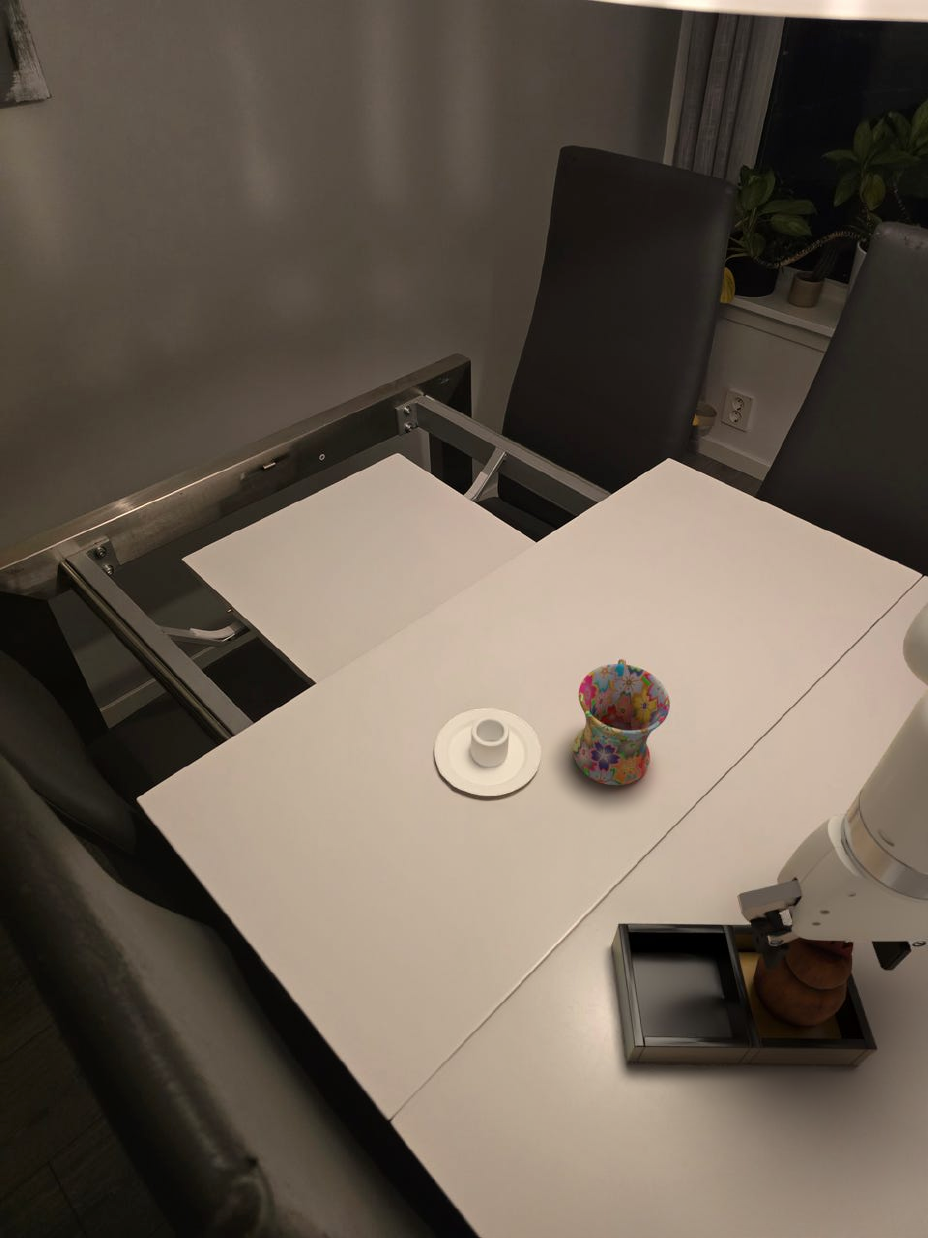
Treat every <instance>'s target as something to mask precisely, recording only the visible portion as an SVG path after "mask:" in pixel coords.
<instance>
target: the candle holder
mask: <svg viewBox="0 0 928 1238" xmlns="http://www.w3.org/2000/svg"><path fill="white" fill-rule="evenodd" d="M436 736H437V737H436V738H435V741H434V747H433V748H434V749H433V755H434V760H435V764H436V767H437V769H438V772H439V773H440V775H441V776H442V777H443V778H444V779H445V780H446V781H447V782H448V783H449V784H450V785H451V786H453V787H454V788H456V789H457V790H460V791H462V792H465V793H468V794H472V795H475V796H480V797H482V796H483V797H497V796H503V795H508V794H510V793H513V792H515V791H517V790H519V789H520V788H522V787H524V786H525V785H527V783H528V782H530V780H531V779H533V777H534V776H535V775H536V773H537V771H538V769H539V767H540V765H541V761H542V747H541V742H540V740H539V737H538V735H537V733H536V732H535V730H534V729H533V728H532V726H531V725H530V724H529V723H528V722H527V721H526V720H525V719H523V718H521V717H520V716H518V715H517V714H514V713H512V712H509V711H507V710H504V709H500V708H494V707H481V708H474V709H473V708H472V709H470V710H466V711H463V712H461V713H458V714H457V715H455V716H453V717H452V718H451V719H449V720H448V721H447V722H446V723H445V724H444V725H443V726H442V727H441V729H440V730H439V732H438V734H437V735H436Z"/></svg>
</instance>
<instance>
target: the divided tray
mask: <svg viewBox="0 0 928 1238" xmlns="http://www.w3.org/2000/svg"><path fill="white" fill-rule="evenodd" d="M789 925H790V924H784V927H786V926H789ZM754 931H755V930H754V929H753V928H752V927H751V924H724V923H723V924H720V923H719V924H714V923H713V924H711V923H709V924H708V923H707V924H706V923H638V922H637V923H632V922H631V923H630V922H629V923H620V922H619V923H618V924H617V927H616V930H615V934H614V936H613V939H612V942H611V944H610V945H611V952H612V953H611V954H612V961H613V969H614V976H615V985H616V993H617V1000H618V1009H619V1017H620V1026H621V1032H622V1041H623V1049H624V1056H625V1064H626V1065H645V1066H647V1065H654V1066H655V1065H656V1066H725V1067H726V1066H727V1067H728V1066H732V1067H735V1066H737V1067H748V1066H749V1067H815V1068H817V1067H818V1068H857V1067H859V1066H860V1065H861V1064H863V1063H864V1062H865V1061H866V1060H867V1059H868V1058H870V1057H871V1056H872V1055H873V1054H874V1053H875V1052H876V1051H878V1047H877V1044H876V1041H875V1038H874V1035H873V1032H872V1029H871V1025H870V1023H869V1019H868V1017H867V1014H866V1011H865V1009H864V1008H865V1007H864V1005H863V1002H862V999H861V996H860V993H859V991H858V987H857V984H856V981H855V978H854V975H853V973H852V971H851V973H850V975H849V977H848V978H847V980H846V983H847V987H846V996H845V1000H844V1002H843V1003H842V1005H841V1007H840V1008H839V1010H838V1011H837V1012H836V1013H835V1014H834V1015H833V1016H831V1017H830V1018H828V1019H827V1020H825V1021H824V1022H822V1023H821V1024H819V1025H817V1026H815V1027H809V1028H800V1027H793V1026H790V1025H788V1024H785V1023H782V1022H781V1021H779V1020H778V1019H776V1018H774V1017H773V1016H772V1015H771V1014H770V1013H769V1012H768V1011H767V1010H766V1009H765V1008H764V1006H763V1005H762V1003H761V1002H760V1000H759V998H758V996H757V994H756V990H755V986H754V980H753V978H754V973H755V969H756V965H757V960H758V958H759V956H760V954H761V953H757V952H756V949H755V946H754V942H753V933H754Z"/></svg>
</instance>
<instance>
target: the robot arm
mask: <svg viewBox="0 0 928 1238" xmlns="http://www.w3.org/2000/svg"><path fill="white" fill-rule="evenodd" d="M902 641H903V642H902V655H903V656H902V657H903V659H904V661H905V663H906V665H907V667H908V669H909V670H910V672H911V673H912V674H913V675H914V676H915V677H916V678H917V679H918V680H920V681H921V682H922V683H923V684H924V685H926V687H928V601H927V602H926V604H925V605H924V606H923V607H922V608H921V609H920V610H919V612H918V613H917V614H916V616H915V617H914V618H913V619H912V621H911V623H909V626H908V628H907V630H906V632H905V634H904V637H903V640H902ZM776 881H777V882H776V883H777V884H774V885H770V886H765V887H761V888H757V889H752V890H749V891H746V892H741V893H738V894H737V896H736V897H737V901H738V905H739V909H740V913H741V915H742V916H743V917H744V919H745V920H746V921H747V922H749V923H750V925H751V927H752V928H753V929H754V930H755V931H754V933H753V942H754V946H755V949H756V952H757V953H762V957H763V961H764V965H765V968H766V969H774V968H775V967H777V965H778V964H779V963H780V961H781V960H782V958H783V957H784V956H785V954H786V953H787V951H788V950H789V945H788V942H790V941H792V940H795V939H797V938H799V937H801V938H804V939H809V940H823V941H845V942H871V944H872V947H873V950H874V953H875V955H876V958H877V962H878V964H879V967H880V968H881V969H883V971H887V972H889V971H893V970H895V968H897V967H898V965H900V964H901V962H902V961H903V960H904V959H905V958H906V957H907V956H908V955H909V954H910V953H911V952H912V948H922V947H926V946H927V945H928V939H927V938H928V689H926V691H925V692H924V693H923V694H922V695H921V697H920V698H919V699H918V700H917V702H916V703H915V704H914V707H913V708H912V710H911V711H910V713H909V714H908V716H907V718H906V719H905V721H904V722H903V724H902V725H901V727H900V728H899V730H898V732H897V733H896V735H895V737H894V738H893V739H892V740H891V743H890V744H889V745H888V747H887V748H886V750H885V752H884V753H883V755H882V756H881V758H880V759H879V761H878V762H877V764H876V765H875V767H874V769H873V770H872V772H871V774H870V775H869V776H868V778H867V780H866V781H865V782H864V784H863V785H862V787H861V789H860V790H859V792H858V793H857V795H856V796H855V798H854V799H853V801H852V803H851V804H850V805H849V808H848V809H847V811H846V812H845V813H843V814H837V815H832V816H831V817H829V818H828V819H826V820H825V821H824V822H822V823H821V824H820V825H819V826H818V827H816V828H815V829H814V830H813V831H812V832H811V833H810V834H809V835H807V837H806V838H805V839H804V840H803V841H802V842H801V843H800V845H799V846H798V847H797V848H796V849H795V851H794V852H793V853H792V854H791V855H790V857H789V858H788V860H787V861H786V863H785V864H784V866H783V867H782V868H781V869H780V871H779V873H778V875H777V878H776ZM785 911H788V912H789V916H790V920H791V923H792V924H788V925H789V926H786V927H784V925H785V924H784V920H783V917H782V914H781V913H783V912H785ZM911 947H912V948H911Z"/></svg>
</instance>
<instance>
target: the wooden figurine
mask: <svg viewBox="0 0 928 1238" xmlns="http://www.w3.org/2000/svg"><path fill="white" fill-rule="evenodd" d="M788 945H789V950H788V951H787V953H786V954H785V956H784V957H783V958H782V960H781V961H780V963H779V964H778V965H777V967H775V968H774V969H766V968H765V965H764V961H763V957H762V953H761V954H760V956H759V958H758V960H757V965H756V969H755V973H754V978H753V980H754V986H755V990H756V994H757V996H758V998H759V1000H760V1002H761V1003H762V1005H763V1006H764V1008H765V1009H766V1010H767V1011H768V1012H769V1013H770V1014H771V1015H772V1016H773V1017H774V1018H776V1019H778V1020H779V1021H781V1022H782V1023H785V1024H788V1025H790V1026H793V1027H800V1028H809V1027H815V1026H817V1025H819V1024H821V1023H822V1022H824V1021H825V1020H827V1019H828V1018H830V1017H831V1016H833V1015H834V1014H835V1013H836V1012H837V1011H838V1010H839V1008H840V1007H841V1005H842V1003H843V1002H844V1000H845V996H846V987H847V983H846V980H847V978H848V977H849V975H850V973H851V972H852V971H853V955H852V954H853V950H854V941H823V940H809V939H804V938H801V937H799V938H797V939H795V940H792V941H790V942H788Z"/></svg>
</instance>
